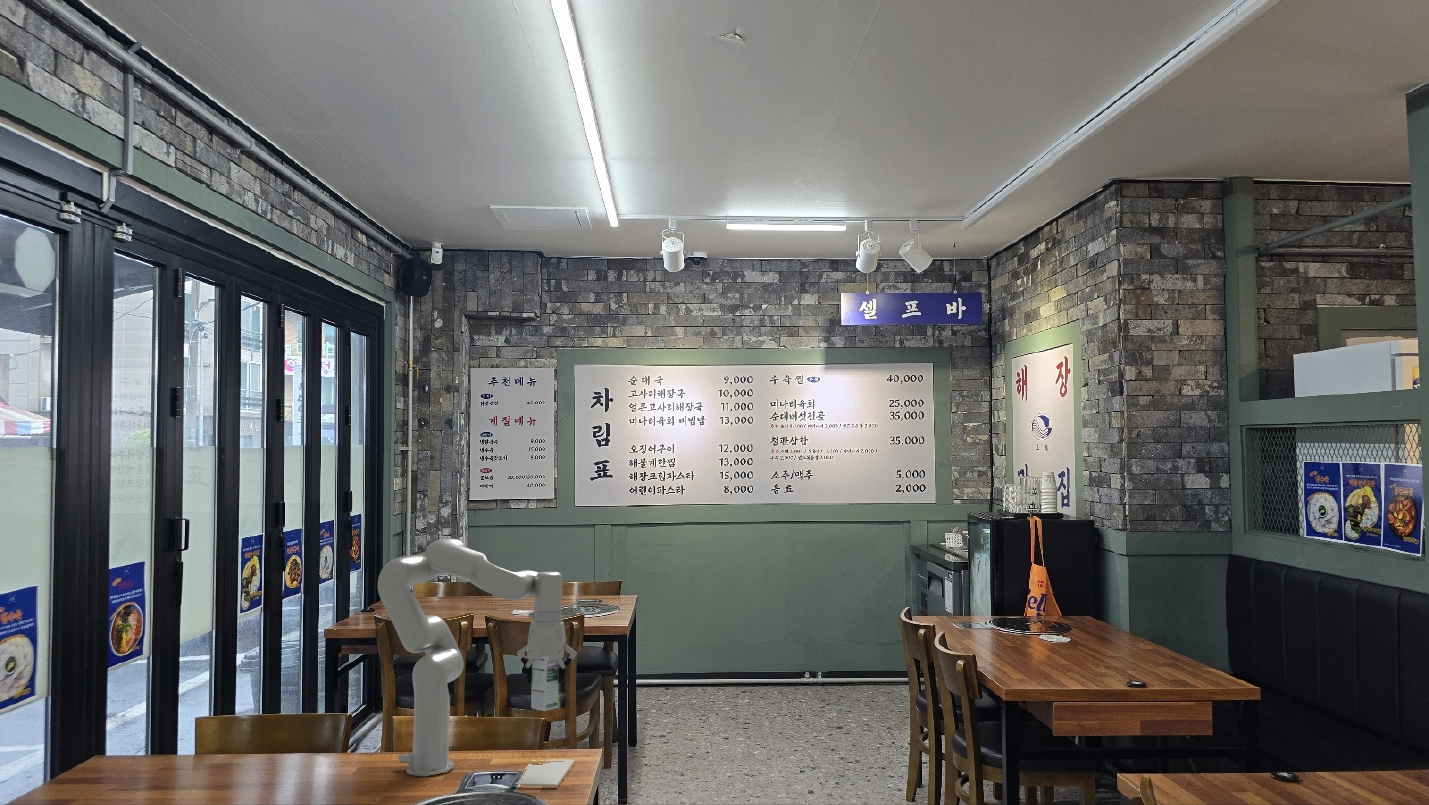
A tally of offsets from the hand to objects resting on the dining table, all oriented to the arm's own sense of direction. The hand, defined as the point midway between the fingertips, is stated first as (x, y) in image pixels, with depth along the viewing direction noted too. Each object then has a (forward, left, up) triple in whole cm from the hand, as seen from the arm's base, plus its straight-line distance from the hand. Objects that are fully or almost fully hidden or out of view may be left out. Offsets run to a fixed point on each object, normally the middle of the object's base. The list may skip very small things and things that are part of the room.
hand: (546, 682), depth 243 cm
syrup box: (0, 0, -7) cm, 7 cm away
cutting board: (0, 0, -25) cm, 25 cm away
